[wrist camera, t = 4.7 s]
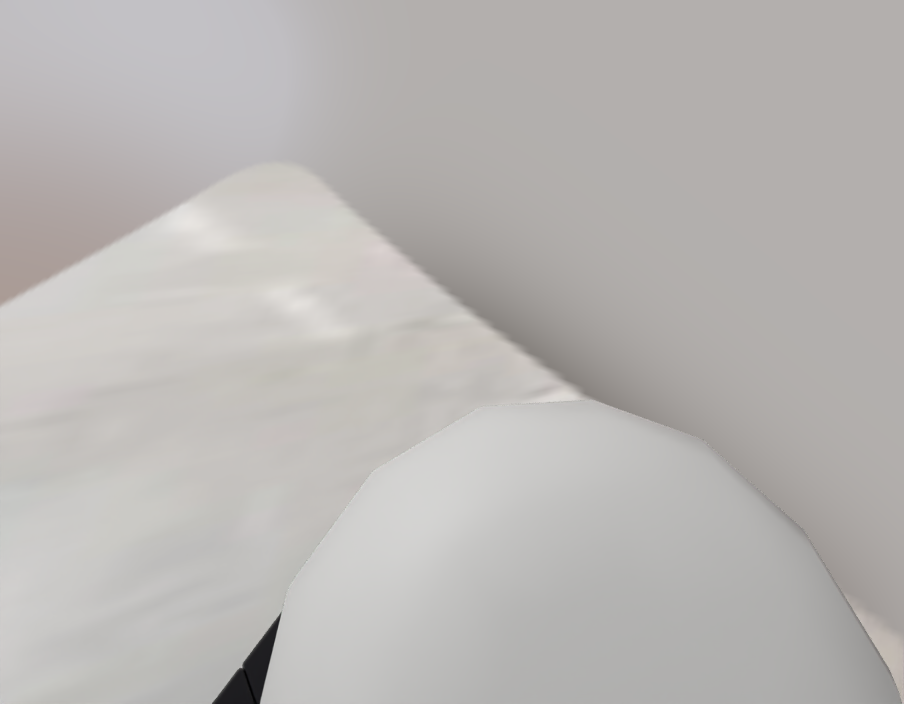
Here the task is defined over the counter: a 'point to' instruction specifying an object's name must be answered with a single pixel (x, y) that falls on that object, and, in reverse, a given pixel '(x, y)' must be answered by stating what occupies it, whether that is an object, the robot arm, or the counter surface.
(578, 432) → the salt shaker
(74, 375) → the counter surface
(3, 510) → the counter surface
